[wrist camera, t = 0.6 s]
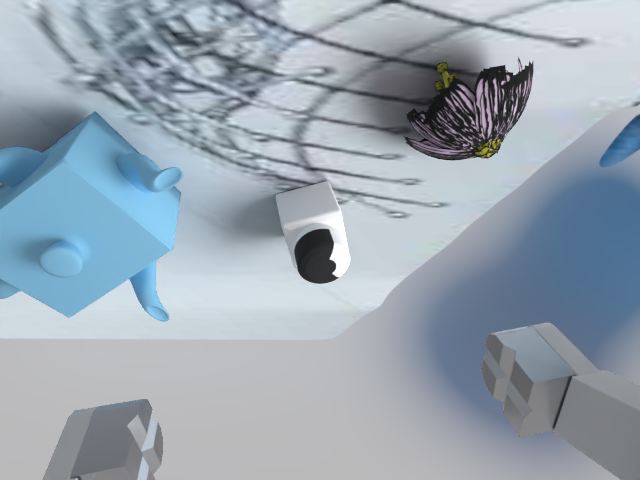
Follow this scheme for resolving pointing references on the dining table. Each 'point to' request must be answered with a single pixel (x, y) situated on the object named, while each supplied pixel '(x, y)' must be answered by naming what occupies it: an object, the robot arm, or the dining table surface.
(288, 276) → the dining table surface
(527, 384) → the robot arm
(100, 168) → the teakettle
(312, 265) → the medicine bottle
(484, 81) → the decorative flower
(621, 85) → the dining table surface
